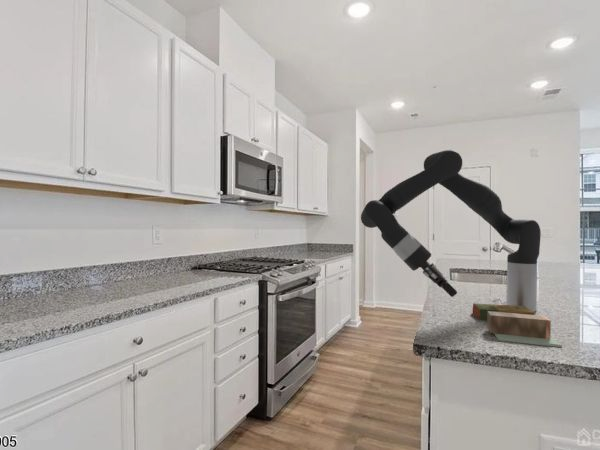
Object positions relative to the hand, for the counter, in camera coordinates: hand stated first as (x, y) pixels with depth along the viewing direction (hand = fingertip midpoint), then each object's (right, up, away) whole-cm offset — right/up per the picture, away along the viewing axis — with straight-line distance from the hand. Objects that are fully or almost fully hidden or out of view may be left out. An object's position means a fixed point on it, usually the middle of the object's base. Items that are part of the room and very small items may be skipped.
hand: (454, 294), depth 99 cm
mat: (+16, -10, -6) cm, 20 cm away
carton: (+21, -11, +12) cm, 27 cm away
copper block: (+8, -7, -3) cm, 11 cm away
